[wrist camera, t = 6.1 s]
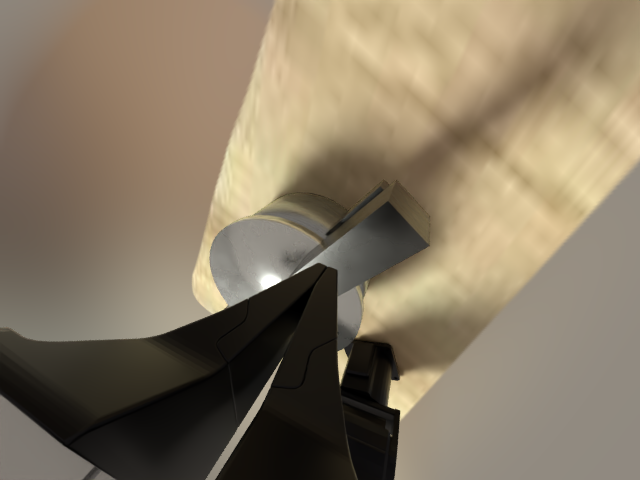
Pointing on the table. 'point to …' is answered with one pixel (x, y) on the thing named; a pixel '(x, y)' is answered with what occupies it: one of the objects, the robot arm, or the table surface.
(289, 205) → the pot
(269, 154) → the table surface
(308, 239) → the lid
